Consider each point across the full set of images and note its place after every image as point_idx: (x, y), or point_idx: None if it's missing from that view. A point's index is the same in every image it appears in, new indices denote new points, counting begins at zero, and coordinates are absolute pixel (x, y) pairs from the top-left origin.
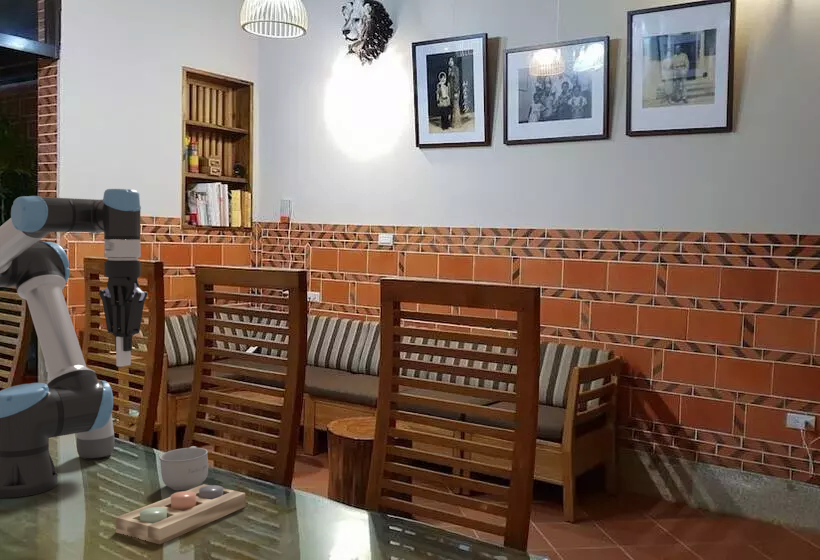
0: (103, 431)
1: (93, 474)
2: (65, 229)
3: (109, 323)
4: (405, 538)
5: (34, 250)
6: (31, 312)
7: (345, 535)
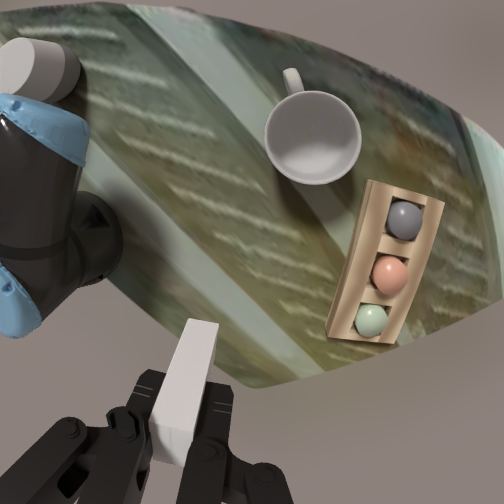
0: (54, 73)
1: (118, 143)
2: None
3: (75, 495)
4: None
5: None
6: None
7: None
